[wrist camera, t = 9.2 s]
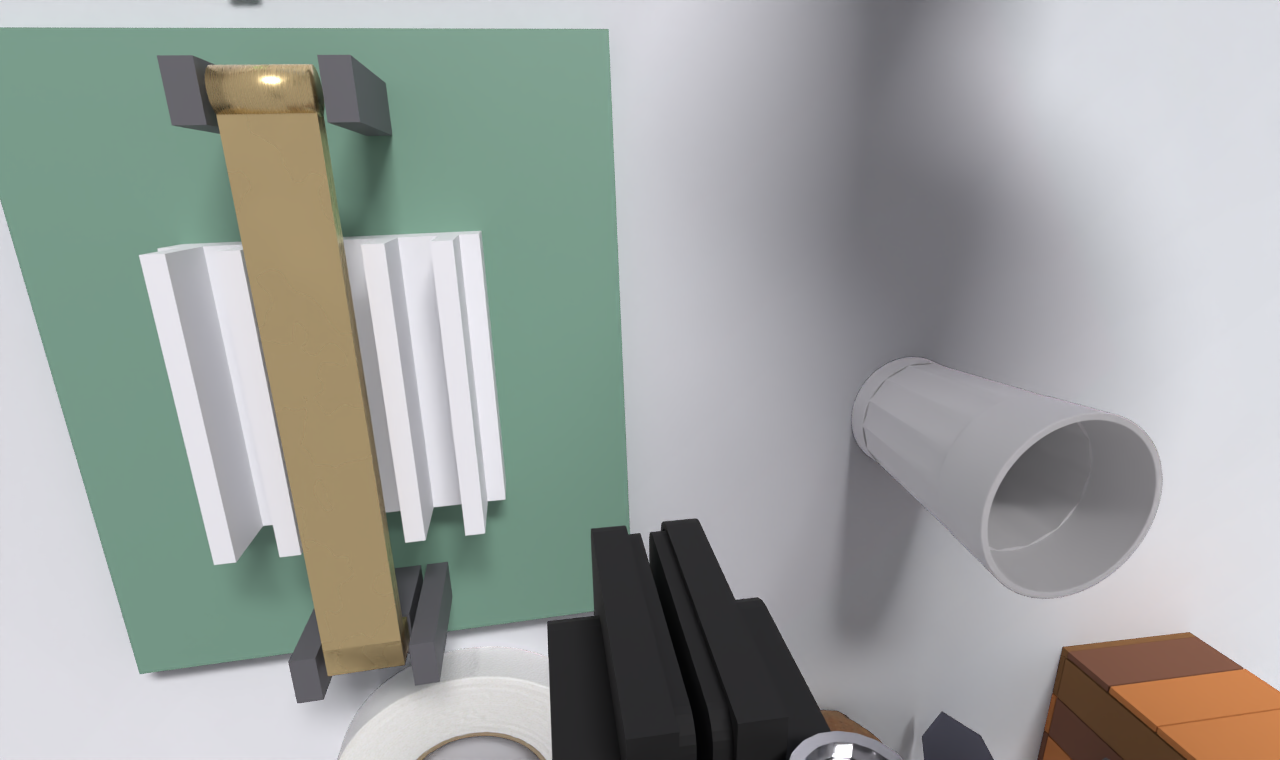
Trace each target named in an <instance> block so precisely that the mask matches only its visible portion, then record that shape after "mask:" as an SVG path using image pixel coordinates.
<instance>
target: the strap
mask: <svg viewBox="0 0 1280 760" xmlns="http://www.w3.org/2000/svg"><path fill="white" fill-rule="evenodd" d="M205 86H206V91H207V95H208V99H209V101H210V104H211V106H212V108H213V110H214V112H215V113H216V116H217V121H218V126H219V131H220V136H221V141H222V146H223V151H224V156H225V161H226V166H227V171H228V176H229V181H230V186H231V191H232V196H233V201H234V206H235V211H236V216H237V221H238V226H239V232H240V237H241V242H242V247H243V252H244V257H245V262H246V267H247V272H248V277H249V282H250V287H251V292H252V297H253V302H254V307H255V312H256V317H257V322H258V327H259V332H260V337H261V342H262V347H263V352H264V357H265V362H266V367H267V372H268V377H269V382H270V387H271V393H272V398H273V403H274V408H275V413H276V418H277V423H278V428H279V433H280V438H281V443H282V448H283V453H284V458H285V463H286V468H287V473H288V478H289V483H290V488H291V493H292V498H293V503H294V508H295V513H296V518H297V523H298V528H299V533H300V538H301V543H302V548H303V554H304V559H305V564H306V569H307V574H308V579H309V584H310V589H311V594H312V599H313V604H314V609H315V614H316V619H317V624H318V629H319V634H320V639H321V644H322V649H323V654H324V659H325V664H326V669H327V674H328V676H333V675H340V674H347V673H354V672H360V671H367V670H374V669H381V668H388V667H395V666H402V665H405V662H406V657H407V653H408V648H409V642H410V635H409V628H408V622H407V617H402V613H401V607H400V600H399V594H398V588H397V581H396V575H395V568H394V562H393V556H392V549H391V543H390V536H389V530H388V524H387V517H386V511H385V505H384V498H383V492H382V485H381V479H380V473H379V466H378V460H377V453H376V447H375V441H374V434H373V428H372V421H371V415H370V409H369V402H368V396H367V389H366V383H365V377H364V370H363V364H362V357H361V351H360V345H359V338H358V332H357V325H356V319H355V313H354V306H353V300H352V293H351V287H350V281H349V274H348V268H347V261H346V255H345V249H344V242H343V236H342V230H341V223H340V217H339V210H338V204H337V198H336V191H335V185H334V178H333V172H332V166H331V159H330V153H329V146H328V140H327V134H326V127H325V121H324V109H325V106H324V96H323V90H322V85H321V81H320V78H319V75H318V72H317V70H316V68H315V67H314V65H312V64H262V65H208V66H207V67H206V70H205Z"/></svg>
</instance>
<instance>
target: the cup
mask: <svg viewBox="0 0 1280 760" xmlns="http://www.w3.org/2000/svg"><path fill="white" fill-rule="evenodd" d="M851 422H852V430H853V434H854V437H855V440H856V442H857V444H858V445H859V447H860V448H861V449H862V451H863V452H864V453H865V454H867V455H868V456H869V457H870V458H872V459H873V460H874V461H876V462H877V463H878V464H880V465H881V466H882V467H883V468H884V469H885V470H886V471H887V472H888V473H889V474H890V475H891V476H892V477H894V478H895V479H896V480H897V481H898V482H899V483H900V484H901V485H902V486H903V487H904V488H905V489H906V490H907V491H908V492H909V493H910V494H911V495H912V496H913V497H914V498H915V499H916V500H918V501H919V502H920V503H921V504H922V505H923V506H924V507H925V508H926V509H927V510H928V511H929V512H930V513H931V514H932V515H933V516H934V517H935V518H936V519H937V520H938V521H939V522H940V523H942V524H943V525H944V526H945V527H946V528H947V529H948V530H949V531H950V532H951V534H952V535H953V536H954V537H955V538H956V539H957V540H958V541H959V542H960V543H961V544H962V545H963V546H964V547H965V548H966V549H967V550H968V551H969V552H970V553H971V554H972V555H973V556H974V557H975V558H976V559H977V560H978V561H979V562H980V563H981V564H982V565H983V566H984V567H985V568H986V569H987V570H988V571H989V572H990V573H991V574H992V575H993V576H994V577H995V578H996V579H997V580H998V581H999V582H1000V583H1002V584H1003V585H1004V586H1005V587H1007V588H1008V589H1010V590H1012V591H1014V592H1016V593H1018V594H1021V595H1024V596H1027V597H1032V598H1042V599H1049V598H1059V597H1064V596H1068V595H1072V594H1075V593H1078V592H1081V591H1083V590H1086V589H1088V588H1090V587H1092V586H1094V585H1095V584H1097V583H1099V582H1101V581H1102V580H1104V579H1105V578H1107V577H1108V576H1109V575H1111V574H1112V573H1113V572H1115V571H1116V570H1117V569H1118V568H1119V567H1120V566H1121V565H1122V564H1124V563H1125V561H1126V560H1127V559H1128V558H1129V557H1130V556H1131V555H1132V554H1133V553H1134V551H1135V550H1136V549H1137V548H1138V546H1139V545H1140V544H1141V542H1142V541H1143V539H1144V537H1145V536H1146V534H1147V532H1148V531H1149V529H1150V527H1151V525H1152V523H1153V520H1154V518H1155V515H1156V513H1157V510H1158V506H1159V503H1160V498H1161V493H1162V480H1163V478H1162V466H1161V461H1160V457H1159V454H1158V451H1157V449H1156V447H1155V445H1154V443H1153V441H1152V440H1151V438H1150V437H1149V436H1148V434H1147V433H1146V432H1145V431H1144V430H1143V429H1142V428H1141V427H1140V426H1138V425H1137V424H1136V423H1134V422H1132V421H1131V420H1129V419H1127V418H1125V417H1122V416H1119V415H1116V414H1112V413H1108V412H1105V411H1101V410H1097V409H1094V408H1090V407H1086V406H1083V405H1079V404H1075V403H1072V402H1068V401H1064V400H1061V399H1057V398H1053V397H1049V396H1044V395H1041V394H1037V393H1034V392H1030V391H1027V390H1023V389H1020V388H1017V387H1013V386H1010V385H1006V384H1003V383H999V382H996V381H993V380H989V379H986V378H982V377H979V376H976V375H972V374H969V373H965V372H962V371H958V370H955V369H952V368H948V367H945V366H943V365H940V364H938V363H935V362H933V361H931V360H928V359H925V358H920V357H905V358H900V359H897V360H894V361H891V362H889V363H887V364H885V365H884V366H882V367H880V368H879V369H878V370H876V371H875V372H874V373H873V374H872V375H871V376H870V377H869V378H868V379H867V380H866V382H865V383H864V384H863V386H862V387H861V389H860V391H859V392H858V394H857V397H856V399H855V402H854V405H853V409H852V418H851Z"/></svg>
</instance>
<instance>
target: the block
mask: <svg viewBox="0 0 1280 760" xmlns="http://www.w3.org/2000/svg"><path fill="white" fill-rule="evenodd" d="M820 711H821V713H822V715H823V717H824V719H825V720H826V722H827V724H828V726H829V728H830V730H831V732H832V731H843V732H851V733H858V734H861V735H863V736H866V737H869V738H872V739H874V740H877V741H879V742H881V741H880V740H879V739H878V738H877V737H875V736H874V735H873V734H872V733H871V732H869V731H868V730H866V729H865V728H863V727H862V726H860V725H859V724H857V723H856V722H854V721H852V720H850V719H849V718H848V717H847V716H846V715H844V714H842V713H840V712H839V711H830V710H820ZM881 743H882V742H881ZM882 744H883V743H882Z"/></svg>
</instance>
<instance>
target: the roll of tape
mask: <svg viewBox="0 0 1280 760" xmlns="http://www.w3.org/2000/svg"><path fill="white" fill-rule="evenodd" d="M473 736H496V737H502V738H506V739H510V740H513V741H515V742H518V743H520V744H522V745H524V746H526V747H527V748H528V749H530V750H531V751H532V752H534V753H535V754H536V755H537V756H538V758H539V759H540V760H552V741H551V713H550V685H549V657H546V656H544V655H541V654H538V653H535V652H531V651H527V650H523V649H518V648H511V647H472V648H464V649H459V650H454V651H450V652H446V653H444V657H443V664H442V670H441V677H440V682H437V683H430V684H424V685H417V686H415V683H414V676H413V670H412V665H411V666H409V667H407V668H405V669H404V670H402V671H400V672H399V673H397V674H396V675H394V676H393V677H391V678H390V679H389V680H387V681H386V682H385V683H384V684H382V685H381V686H380V687H379V688H378V689H377V690H375V691H374V693H373V694H372V695H371V696H370V697H369V698H368V699H367V700H366V701H365V702H364V704H363V705H362V706H361V708H360V709H359V710H358V712H357V713H356V715H355V716H354V718H353V720H352V722H351V724H350V725H349V727H348V730H347V732H346V735H345V737H344V740H343V743H342V747H341V750H340V753H339V756H338V759H337V760H423V759H424V758H425V757H426V756H427V755H428V754H429V753H431V752H433V751H434V750H436V749H438V748H439V747H441V746H443V745H445V744H447V743H449V742H452V741H455V740H458V739H462V738H467V737H473Z"/></svg>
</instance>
